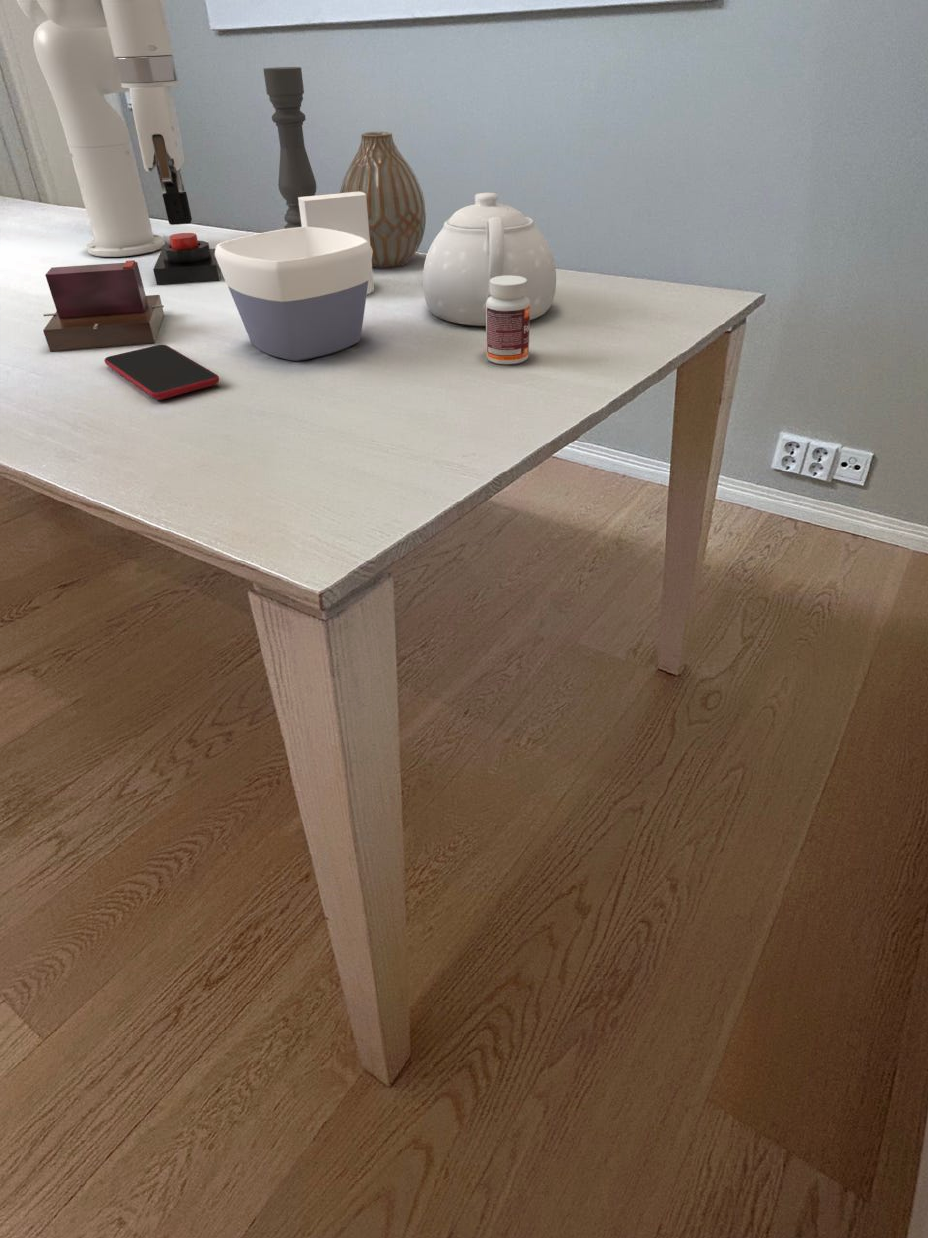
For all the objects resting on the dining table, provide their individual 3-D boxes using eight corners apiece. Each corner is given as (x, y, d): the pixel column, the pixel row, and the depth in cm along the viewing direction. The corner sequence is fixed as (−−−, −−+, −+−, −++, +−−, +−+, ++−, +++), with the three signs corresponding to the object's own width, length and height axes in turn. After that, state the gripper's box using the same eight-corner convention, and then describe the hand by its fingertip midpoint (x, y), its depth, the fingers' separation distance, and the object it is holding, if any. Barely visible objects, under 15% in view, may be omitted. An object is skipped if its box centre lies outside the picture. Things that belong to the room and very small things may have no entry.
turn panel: (62, 319, 104) (55, 298, 103) (173, 310, 107) (168, 290, 105) (38, 355, 93) (30, 332, 92) (163, 345, 95) (157, 322, 94)
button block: (164, 266, 126) (157, 239, 123) (222, 262, 127) (217, 235, 125) (156, 284, 117) (149, 255, 115) (219, 280, 119) (213, 251, 116)
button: (173, 245, 121) (170, 233, 120) (199, 244, 122) (197, 231, 121) (170, 251, 118) (167, 239, 117) (198, 250, 119) (195, 237, 118)
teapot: (388, 313, 104) (379, 196, 95) (482, 283, 114) (482, 176, 106) (496, 343, 93) (497, 215, 85) (589, 307, 104) (597, 190, 96)
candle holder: (320, 251, 132) (299, 68, 117) (283, 252, 132) (257, 69, 117) (326, 243, 137) (306, 66, 121) (290, 243, 137) (266, 67, 122)
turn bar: (58, 318, 96) (44, 272, 93) (64, 309, 99) (50, 265, 96) (144, 311, 98) (132, 266, 95) (147, 303, 100) (136, 259, 97)
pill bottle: (532, 363, 88) (535, 284, 83) (490, 366, 87) (490, 286, 82) (523, 349, 92) (525, 272, 87) (482, 352, 91) (482, 275, 86)
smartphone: (164, 343, 93) (221, 376, 84) (166, 350, 93) (223, 385, 84) (101, 357, 89) (154, 394, 80) (103, 365, 90) (156, 403, 80)
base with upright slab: (320, 302, 108) (308, 204, 101) (303, 286, 115) (290, 193, 108) (382, 293, 111) (375, 198, 104) (362, 278, 118) (354, 187, 110)
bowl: (320, 315, 103) (308, 221, 97) (397, 341, 95) (389, 240, 88) (215, 344, 95) (194, 244, 88) (289, 376, 86) (272, 267, 79)
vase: (359, 251, 131) (347, 127, 121) (436, 253, 129) (431, 127, 118) (332, 272, 121) (317, 138, 110) (416, 274, 119) (408, 139, 108)
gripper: (126, 72, 112) (160, 215, 123) (110, 76, 100) (148, 235, 111) (181, 69, 113) (209, 212, 124) (171, 74, 101) (203, 231, 112)
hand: (180, 222), depth 118 cm, fingers closed
